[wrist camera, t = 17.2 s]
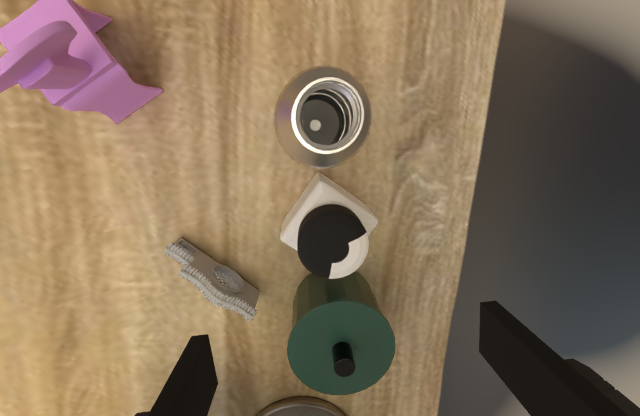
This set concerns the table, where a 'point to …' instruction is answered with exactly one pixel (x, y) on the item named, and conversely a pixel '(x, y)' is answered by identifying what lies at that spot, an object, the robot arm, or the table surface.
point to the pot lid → (341, 347)
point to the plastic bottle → (323, 117)
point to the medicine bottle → (329, 229)
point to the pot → (331, 292)
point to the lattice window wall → (214, 279)
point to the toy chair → (68, 61)
